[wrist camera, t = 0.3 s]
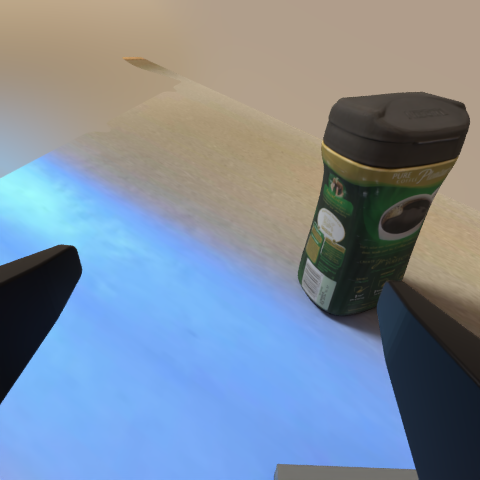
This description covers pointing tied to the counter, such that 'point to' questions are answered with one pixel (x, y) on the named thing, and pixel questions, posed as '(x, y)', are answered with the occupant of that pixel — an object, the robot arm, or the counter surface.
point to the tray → (341, 473)
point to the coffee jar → (376, 193)
